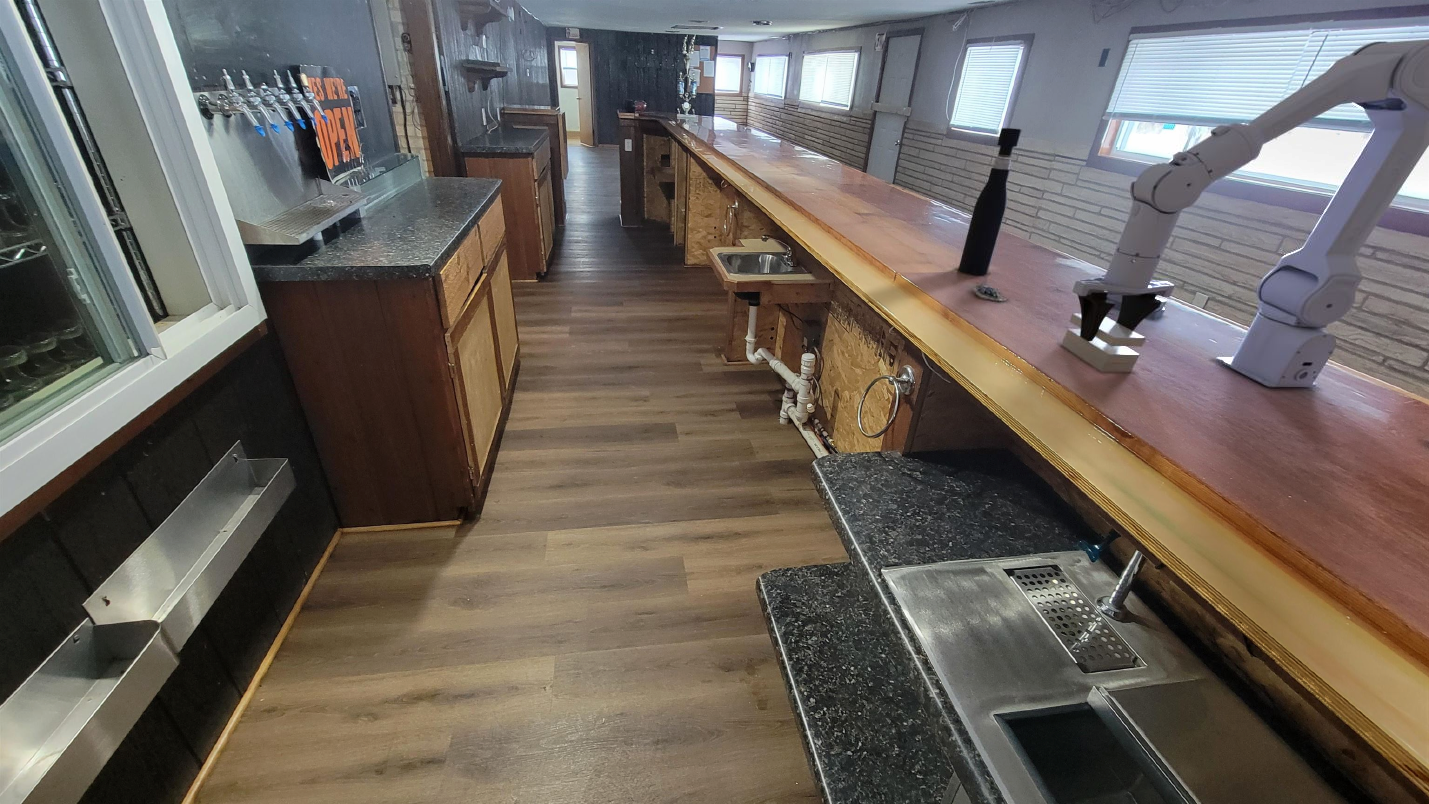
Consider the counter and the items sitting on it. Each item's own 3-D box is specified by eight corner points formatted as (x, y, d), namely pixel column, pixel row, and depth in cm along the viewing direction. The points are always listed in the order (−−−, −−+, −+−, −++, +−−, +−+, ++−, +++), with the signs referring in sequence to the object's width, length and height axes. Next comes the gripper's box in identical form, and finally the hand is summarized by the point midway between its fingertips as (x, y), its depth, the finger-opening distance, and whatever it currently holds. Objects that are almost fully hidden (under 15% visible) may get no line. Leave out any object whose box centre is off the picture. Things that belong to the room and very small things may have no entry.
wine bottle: (952, 268, 133) (988, 127, 118) (972, 266, 135) (1009, 127, 120) (973, 276, 128) (1013, 130, 113) (993, 273, 130) (1035, 130, 115)
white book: (1142, 346, 84) (1146, 338, 84) (1111, 346, 84) (1114, 337, 83) (1097, 321, 93) (1100, 313, 92) (1069, 321, 93) (1072, 313, 92)
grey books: (1162, 316, 109) (1169, 300, 108) (1152, 320, 107) (1159, 304, 105) (1105, 300, 116) (1112, 285, 115) (1096, 303, 114) (1102, 288, 113)
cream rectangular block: (1132, 372, 86) (1140, 354, 85) (1101, 372, 86) (1108, 354, 84) (1088, 344, 95) (1095, 328, 94) (1060, 344, 95) (1066, 328, 93)
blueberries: (987, 288, 120) (990, 279, 120) (1016, 300, 114) (1019, 291, 113) (962, 290, 118) (964, 281, 117) (990, 303, 112) (993, 293, 111)
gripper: (1162, 246, 86) (1126, 329, 93) (1074, 245, 85) (1044, 328, 92) (1200, 259, 80) (1159, 346, 87) (1106, 257, 79) (1071, 346, 86)
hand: (1102, 338), depth 89 cm, fingers closed on white book, 5 cm apart
